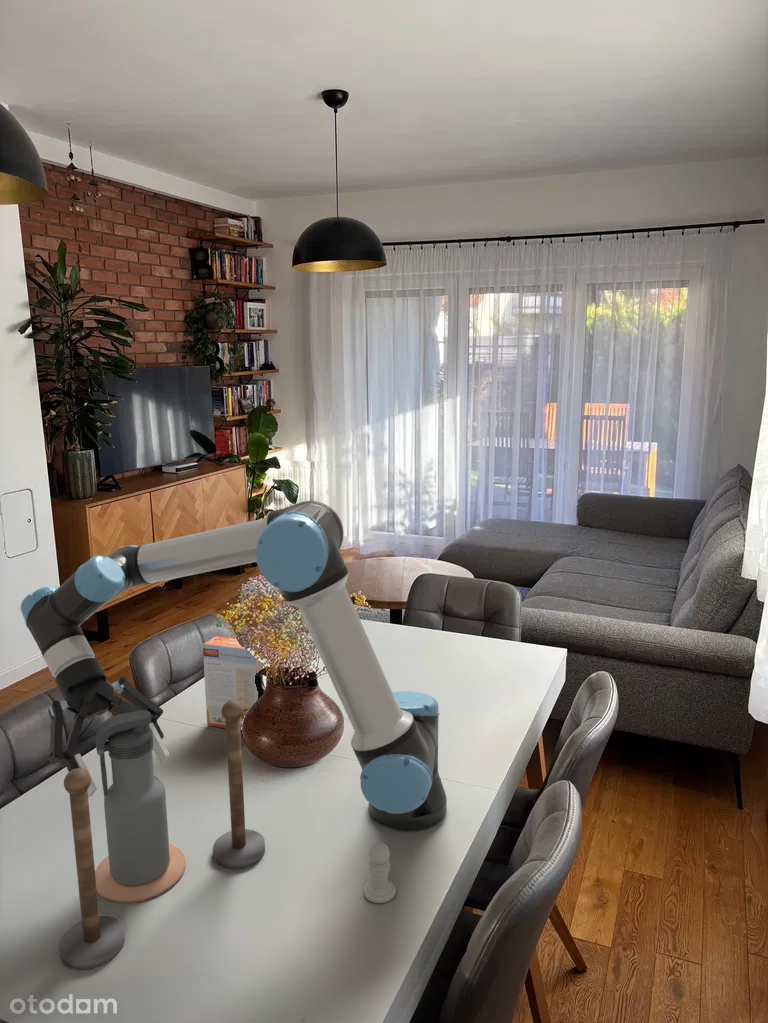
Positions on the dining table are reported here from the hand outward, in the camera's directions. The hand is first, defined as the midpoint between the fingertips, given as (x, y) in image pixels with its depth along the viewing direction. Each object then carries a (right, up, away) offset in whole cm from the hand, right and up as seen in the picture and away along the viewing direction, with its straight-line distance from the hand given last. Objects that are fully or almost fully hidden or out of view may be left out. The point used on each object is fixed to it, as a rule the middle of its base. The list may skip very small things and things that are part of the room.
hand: (130, 775), depth 126 cm
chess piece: (+41, -19, -2) cm, 46 cm away
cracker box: (+7, -7, +55) cm, 56 cm away
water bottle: (0, -17, +3) cm, 17 cm away
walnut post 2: (+17, -17, +8) cm, 25 cm away
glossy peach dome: (+1, -18, +3) cm, 18 cm away
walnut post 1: (-1, -21, -13) cm, 25 cm away
